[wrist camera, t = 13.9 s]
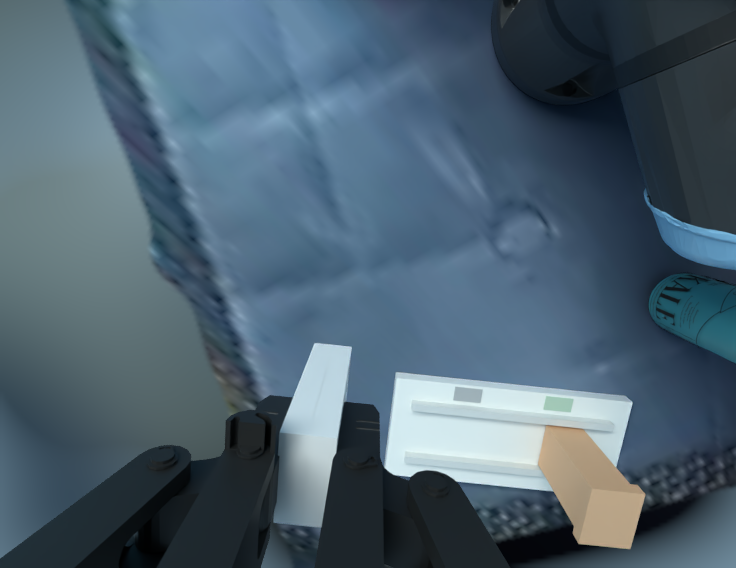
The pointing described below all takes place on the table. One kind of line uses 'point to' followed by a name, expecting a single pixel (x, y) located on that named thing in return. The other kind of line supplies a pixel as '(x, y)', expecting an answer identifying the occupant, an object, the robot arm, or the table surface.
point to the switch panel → (491, 428)
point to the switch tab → (590, 488)
